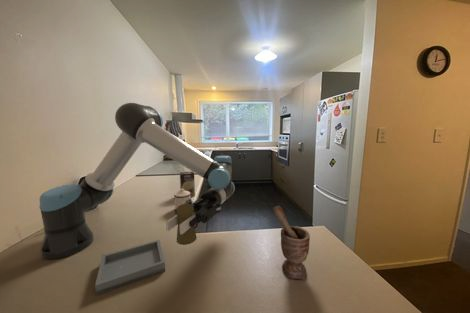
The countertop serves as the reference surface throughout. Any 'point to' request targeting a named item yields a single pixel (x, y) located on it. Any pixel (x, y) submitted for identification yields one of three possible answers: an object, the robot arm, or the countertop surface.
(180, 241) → the cork
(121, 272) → the tray
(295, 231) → the mortar and pestle
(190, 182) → the coffee box
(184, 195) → the teacup with lid
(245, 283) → the countertop surface
